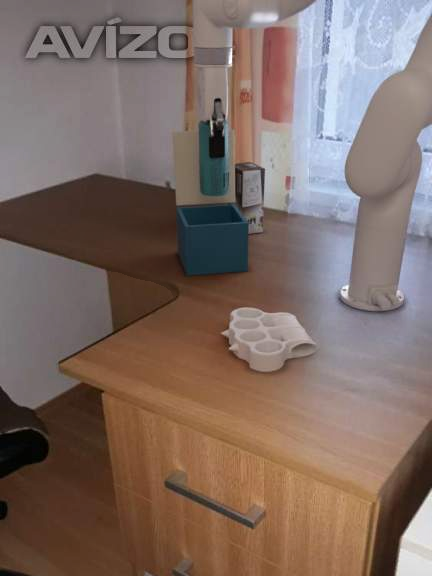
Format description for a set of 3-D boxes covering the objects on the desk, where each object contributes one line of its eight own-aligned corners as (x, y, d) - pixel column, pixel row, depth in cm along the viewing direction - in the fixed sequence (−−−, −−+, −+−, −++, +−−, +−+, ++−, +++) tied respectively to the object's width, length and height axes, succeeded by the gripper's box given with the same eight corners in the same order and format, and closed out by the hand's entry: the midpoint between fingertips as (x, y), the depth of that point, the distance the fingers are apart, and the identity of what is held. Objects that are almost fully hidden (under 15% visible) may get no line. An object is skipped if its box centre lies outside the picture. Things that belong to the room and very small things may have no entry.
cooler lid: (234, 129, 135) (229, 128, 140) (172, 132, 133) (170, 130, 138) (235, 202, 142) (230, 198, 147) (176, 205, 140) (173, 201, 145)
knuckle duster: (322, 366, 100) (236, 376, 98) (288, 319, 115) (212, 326, 112) (324, 348, 98) (236, 358, 96) (289, 302, 113) (212, 310, 111)
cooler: (247, 271, 136) (248, 222, 130) (186, 275, 134) (185, 226, 128) (234, 248, 148) (234, 204, 142) (178, 252, 146) (176, 207, 140)
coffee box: (264, 232, 159) (266, 168, 150) (241, 235, 157) (242, 170, 148) (249, 222, 166) (251, 161, 157) (227, 225, 164) (228, 163, 155)
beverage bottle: (226, 204, 130) (226, 102, 119) (196, 202, 131) (193, 101, 121) (231, 196, 135) (232, 97, 125) (202, 194, 137) (200, 97, 126)
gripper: (188, 55, 125) (190, 146, 135) (201, 61, 111) (202, 163, 120) (223, 54, 127) (223, 145, 136) (241, 61, 112) (239, 162, 122)
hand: (213, 153), depth 128 cm, fingers closed on beverage bottle, 6 cm apart
